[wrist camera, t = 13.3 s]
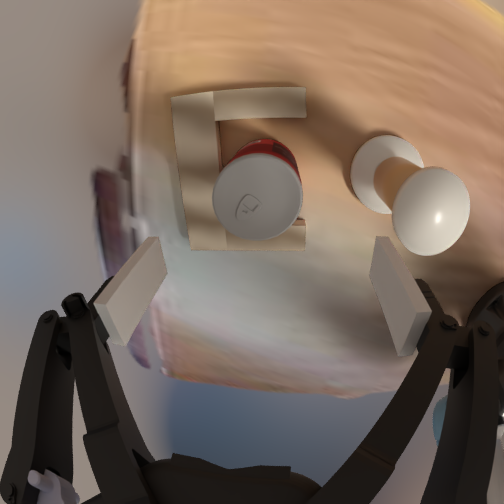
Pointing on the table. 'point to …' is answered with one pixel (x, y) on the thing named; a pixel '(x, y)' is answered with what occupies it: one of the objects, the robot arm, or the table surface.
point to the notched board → (210, 161)
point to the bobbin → (410, 194)
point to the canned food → (258, 191)
